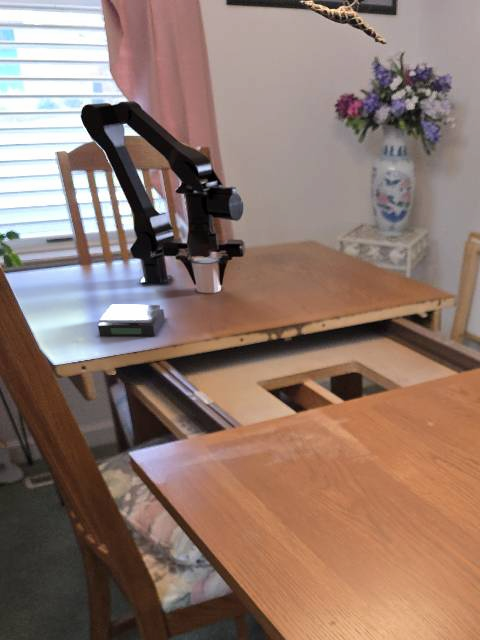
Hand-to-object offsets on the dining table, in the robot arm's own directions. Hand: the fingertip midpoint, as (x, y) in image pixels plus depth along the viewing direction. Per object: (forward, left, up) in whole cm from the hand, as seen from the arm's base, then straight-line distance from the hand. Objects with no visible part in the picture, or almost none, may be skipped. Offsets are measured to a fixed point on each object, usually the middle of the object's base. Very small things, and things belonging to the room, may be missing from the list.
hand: (208, 284), depth 173 cm
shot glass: (0, 0, -1) cm, 1 cm away
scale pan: (+28, -12, +1) cm, 30 cm away
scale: (+28, -12, -1) cm, 30 cm away
